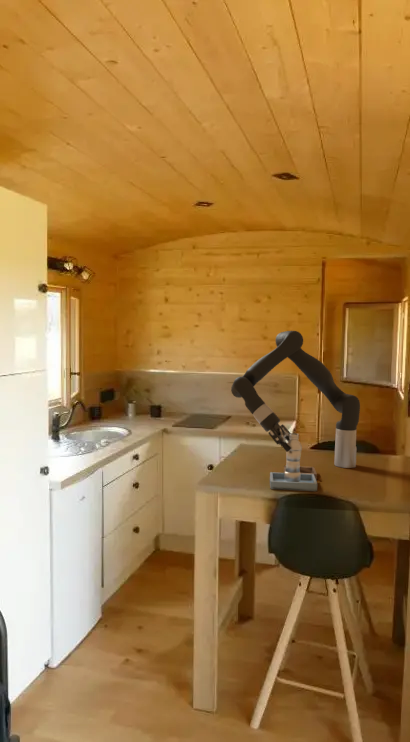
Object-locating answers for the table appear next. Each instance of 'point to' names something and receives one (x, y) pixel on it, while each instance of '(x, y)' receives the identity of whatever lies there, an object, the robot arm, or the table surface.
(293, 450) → the plastic bottle
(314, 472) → the walnut holder
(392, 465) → the table surface
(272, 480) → the slate tray
